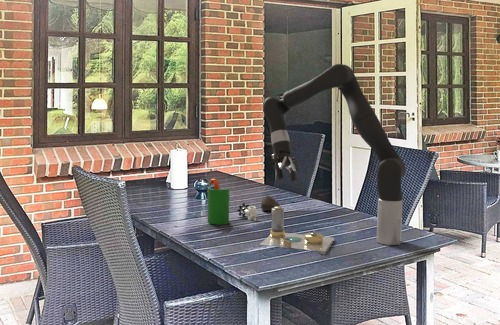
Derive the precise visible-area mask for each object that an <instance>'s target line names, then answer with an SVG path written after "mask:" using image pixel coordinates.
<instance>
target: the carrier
mask: <svg viewBox="0 0 500 325" xmlns="http://www.w3.org/2000/svg"><path fill="white" fill-rule="evenodd" d="M333 241H335V237H331V236H324V235H323V234H322V233H320V232H315V231H314V232H307V233H304V234H301V233H299V234H297V233H290V232H289V233H288V232H285V236H284V237H283V235H280V238H276V237H271V236H270V235H268V237H266V238H264V239H263V241H262V242H260V243H259V246H267V247H268V246H269V247H276V248H277V247H278V248H285V249H286V248H288V249H296V250H305V251H307V250H308V251H315V252H316V251H318V252H317V255H326V253H327V252H328V250H329V249H330V247H331V246H332V245H333V243H334V242H333Z"/></svg>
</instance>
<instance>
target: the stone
mask: <svg viewBox="0 0 500 325" xmlns="http://www.w3.org/2000/svg"><path fill="white" fill-rule="evenodd" d="M276 206H279V207H281V206H280V204H279V202H278V200H276V199H275V198H274V197H272V196H270V195H266V196H265V195H264V197H263V198H262V201H261V203H260V208H261V210H262V211H263V212H272V208H274V207H276Z"/></svg>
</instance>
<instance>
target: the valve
mask: <svg viewBox="0 0 500 325" xmlns="http://www.w3.org/2000/svg"><path fill="white" fill-rule="evenodd" d="M236 211H237V213H238V215H237V216H242V218H246V216H247V221H254V222H255V221H256V222H257V216H258V215H257V207H256V206H252V205H251V206H250V205H249V204H248V203H247V204H246V203H245V202H243V203H241V204H238V209H237V208H236ZM242 212H243V213H242Z"/></svg>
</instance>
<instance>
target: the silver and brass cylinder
mask: <svg viewBox="0 0 500 325" xmlns="http://www.w3.org/2000/svg"><path fill="white" fill-rule="evenodd" d="M284 209H285V208H283V207H282V206H280V207H279V206H276V207H274V208H272V211H271V229H270V230H269V231H270V232H269V233H270V234H269V236H271V237H276V238H280V235H283V237H284V236H285V233H286V230H285V228H284V225H285V221H284V218H285V216H284V214H285V210H284Z"/></svg>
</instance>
